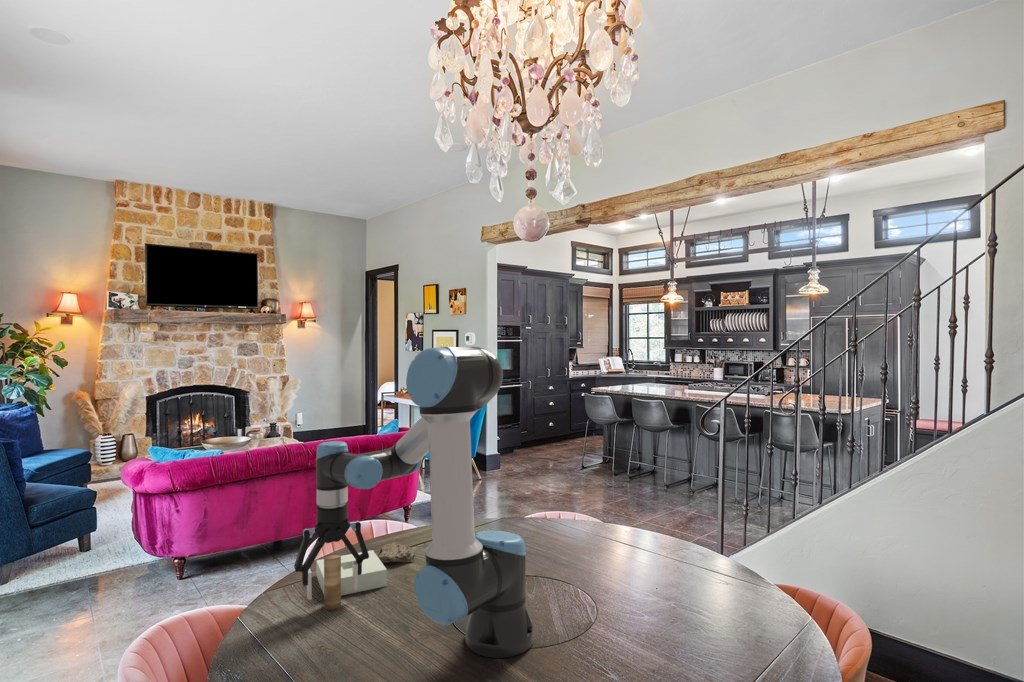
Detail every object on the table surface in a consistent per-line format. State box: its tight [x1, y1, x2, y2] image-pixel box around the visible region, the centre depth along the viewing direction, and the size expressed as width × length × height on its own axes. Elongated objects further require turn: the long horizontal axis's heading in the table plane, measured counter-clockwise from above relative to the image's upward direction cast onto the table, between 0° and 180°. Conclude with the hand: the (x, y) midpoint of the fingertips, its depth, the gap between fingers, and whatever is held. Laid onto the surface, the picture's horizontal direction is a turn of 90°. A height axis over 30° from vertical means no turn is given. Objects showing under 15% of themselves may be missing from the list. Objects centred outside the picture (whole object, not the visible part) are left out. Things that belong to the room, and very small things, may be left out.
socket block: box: [315, 549, 388, 597], centre depth 151 cm, size 16×16×4 cm
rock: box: [377, 541, 416, 564], centre depth 166 cm, size 11×11×4 cm
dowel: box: [323, 554, 342, 611], centre depth 137 cm, size 4×4×12 cm
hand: (332, 592), depth 137 cm, fingers open, 10 cm apart
